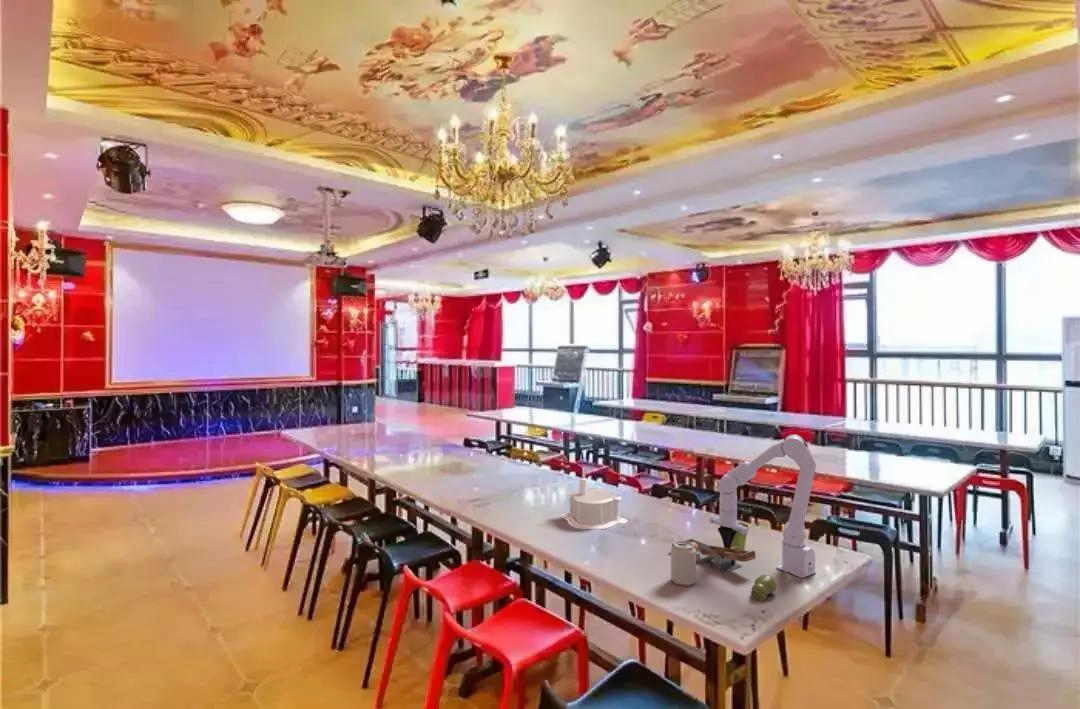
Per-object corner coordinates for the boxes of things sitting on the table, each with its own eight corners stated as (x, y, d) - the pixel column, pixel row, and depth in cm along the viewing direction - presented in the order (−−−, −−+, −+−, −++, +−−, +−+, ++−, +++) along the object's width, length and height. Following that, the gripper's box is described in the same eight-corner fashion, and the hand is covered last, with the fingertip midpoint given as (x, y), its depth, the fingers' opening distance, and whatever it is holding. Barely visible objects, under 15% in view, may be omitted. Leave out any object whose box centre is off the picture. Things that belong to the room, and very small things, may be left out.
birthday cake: (633, 513, 245) (634, 465, 245) (624, 534, 218) (624, 479, 218) (567, 507, 254) (568, 460, 254) (550, 526, 227) (551, 474, 226)
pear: (779, 575, 165) (763, 590, 159) (780, 591, 166) (764, 607, 160) (761, 569, 170) (745, 584, 163) (762, 585, 170) (746, 600, 164)
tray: (718, 557, 194) (718, 548, 194) (698, 563, 189) (698, 554, 189) (691, 546, 204) (691, 538, 204) (671, 551, 199) (671, 543, 199)
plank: (770, 554, 183) (769, 546, 183) (744, 562, 176) (743, 554, 176) (726, 547, 198) (725, 540, 198) (700, 554, 191) (699, 547, 191)
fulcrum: (741, 566, 186) (741, 552, 186) (723, 572, 181) (723, 558, 181) (726, 560, 191) (726, 547, 191) (708, 566, 186) (708, 552, 186)
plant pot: (716, 545, 205) (716, 522, 205) (737, 542, 208) (737, 519, 208) (733, 554, 196) (733, 530, 196) (755, 551, 200) (755, 527, 200)
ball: (701, 550, 196) (698, 540, 197) (694, 552, 194) (691, 542, 196) (694, 552, 199) (691, 541, 200) (687, 553, 197) (684, 543, 198)
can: (691, 576, 177) (691, 539, 177) (698, 587, 170) (699, 548, 170) (668, 577, 177) (668, 539, 177) (674, 587, 170) (674, 548, 169)
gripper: (753, 513, 188) (752, 553, 189) (718, 502, 201) (718, 540, 201) (740, 516, 185) (739, 557, 185) (705, 505, 197) (704, 543, 197)
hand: (727, 548), depth 193 cm, fingers closed, pressing on plank
